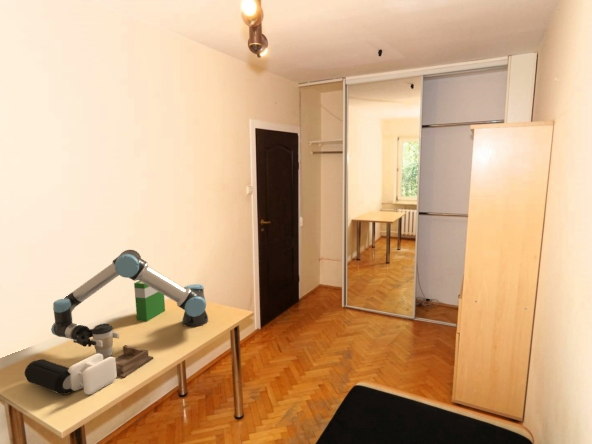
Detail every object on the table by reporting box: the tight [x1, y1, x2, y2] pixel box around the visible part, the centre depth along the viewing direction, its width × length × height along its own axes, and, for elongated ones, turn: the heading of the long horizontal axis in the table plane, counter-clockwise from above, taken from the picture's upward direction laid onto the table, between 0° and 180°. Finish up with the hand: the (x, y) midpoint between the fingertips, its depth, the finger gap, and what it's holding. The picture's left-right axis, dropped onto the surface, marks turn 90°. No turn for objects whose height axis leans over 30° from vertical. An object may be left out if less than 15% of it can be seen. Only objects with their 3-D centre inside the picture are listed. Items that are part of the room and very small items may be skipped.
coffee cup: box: [91, 323, 114, 358], centre depth 179 cm, size 9×9×15 cm
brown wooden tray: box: [103, 344, 154, 379], centre depth 175 cm, size 16×18×5 cm
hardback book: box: [133, 280, 166, 322], centre depth 233 cm, size 18×7×24 cm, turn 163°
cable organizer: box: [68, 353, 118, 395], centre depth 157 cm, size 15×11×12 cm
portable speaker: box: [24, 358, 74, 395], centre depth 157 cm, size 26×10×10 cm, turn 65°
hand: (110, 339), depth 177 cm, fingers closed on coffee cup, 9 cm apart
